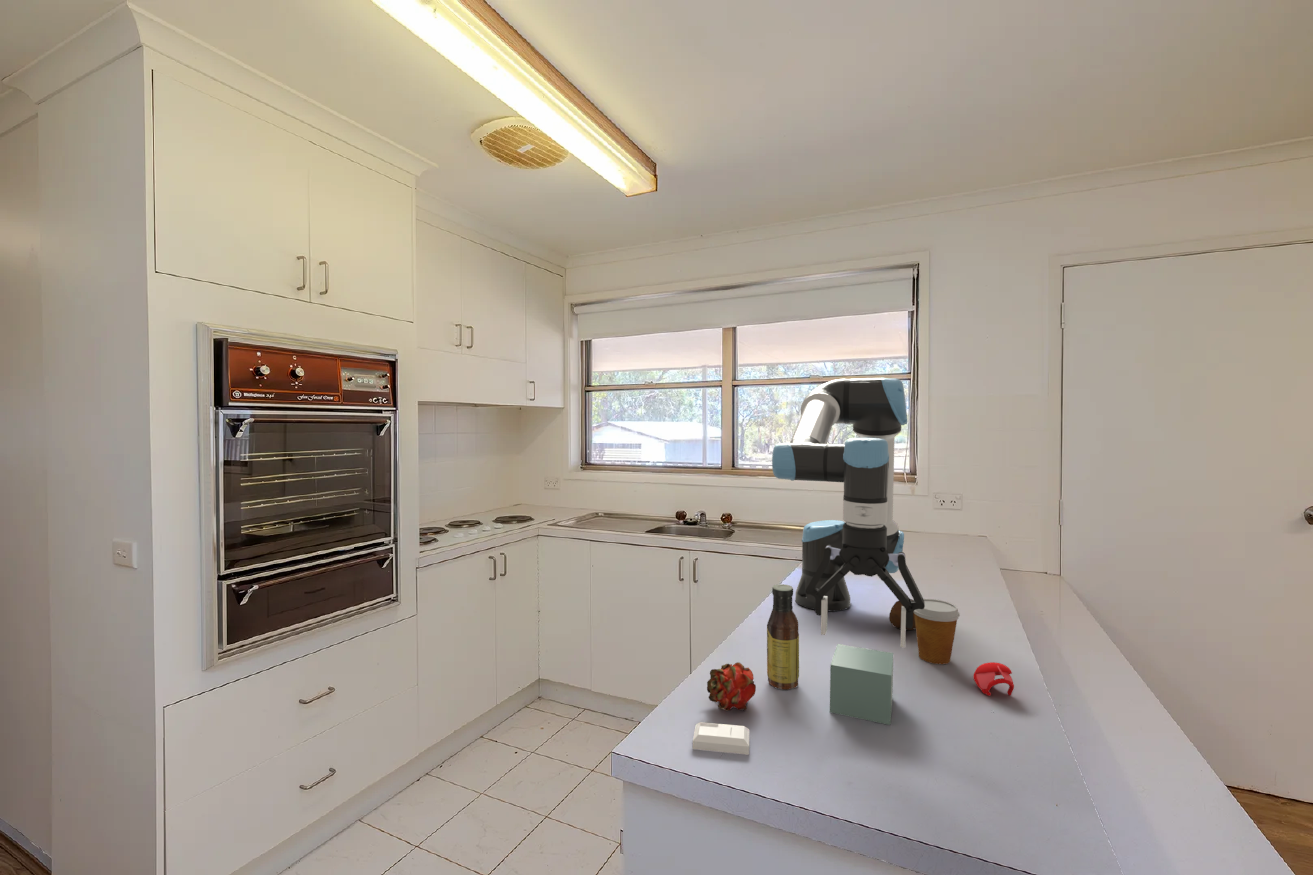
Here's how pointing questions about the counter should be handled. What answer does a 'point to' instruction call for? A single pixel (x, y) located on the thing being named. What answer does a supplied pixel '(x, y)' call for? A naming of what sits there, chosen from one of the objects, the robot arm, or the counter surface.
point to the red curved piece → (992, 677)
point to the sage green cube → (861, 683)
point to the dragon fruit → (731, 686)
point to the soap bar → (721, 738)
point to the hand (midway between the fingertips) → (862, 638)
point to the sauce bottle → (782, 640)
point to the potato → (898, 616)
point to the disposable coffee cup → (936, 630)
